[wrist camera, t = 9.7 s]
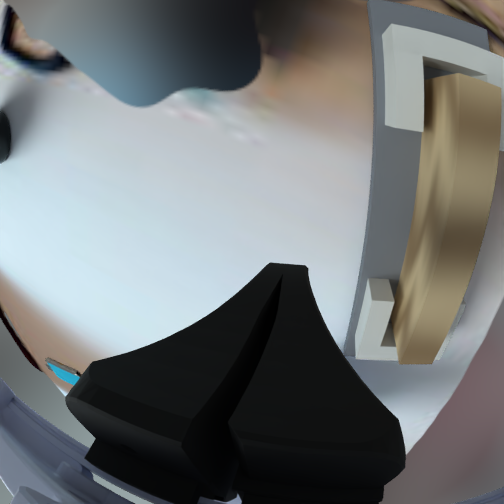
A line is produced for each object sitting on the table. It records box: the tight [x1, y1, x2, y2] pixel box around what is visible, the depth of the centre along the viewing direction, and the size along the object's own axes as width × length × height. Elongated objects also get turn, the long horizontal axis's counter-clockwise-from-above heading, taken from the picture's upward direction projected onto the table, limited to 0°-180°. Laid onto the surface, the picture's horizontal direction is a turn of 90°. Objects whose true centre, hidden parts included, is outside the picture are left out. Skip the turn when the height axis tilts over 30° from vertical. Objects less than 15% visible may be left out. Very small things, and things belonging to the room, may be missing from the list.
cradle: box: [344, 0, 504, 361], centre depth 14 cm, size 26×8×4 cm, turn 3°
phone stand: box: [45, 358, 81, 386], centre depth 45 cm, size 20×12×2 cm, turn 98°
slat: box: [390, 73, 502, 364], centre depth 13 cm, size 16×2×5 cm, turn 3°
